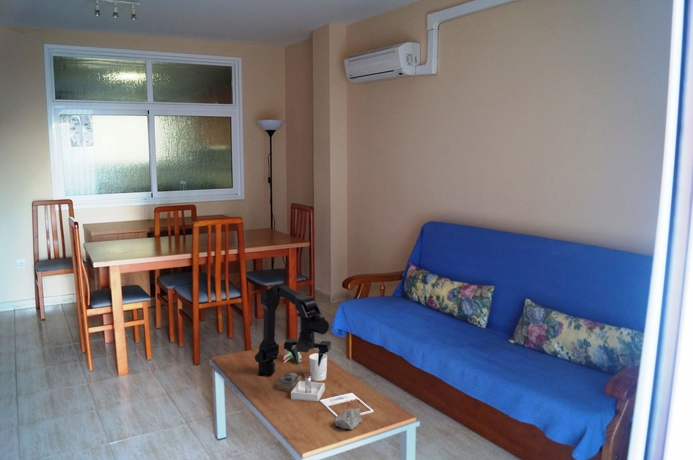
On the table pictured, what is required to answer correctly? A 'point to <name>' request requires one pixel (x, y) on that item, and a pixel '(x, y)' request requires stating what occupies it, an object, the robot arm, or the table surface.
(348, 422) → the stone
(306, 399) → the tray
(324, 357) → the white cup
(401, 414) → the table surface
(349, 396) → the photo frame
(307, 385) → the pin
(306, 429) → the table surface
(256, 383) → the table surface
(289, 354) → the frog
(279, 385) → the block
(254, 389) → the table surface
